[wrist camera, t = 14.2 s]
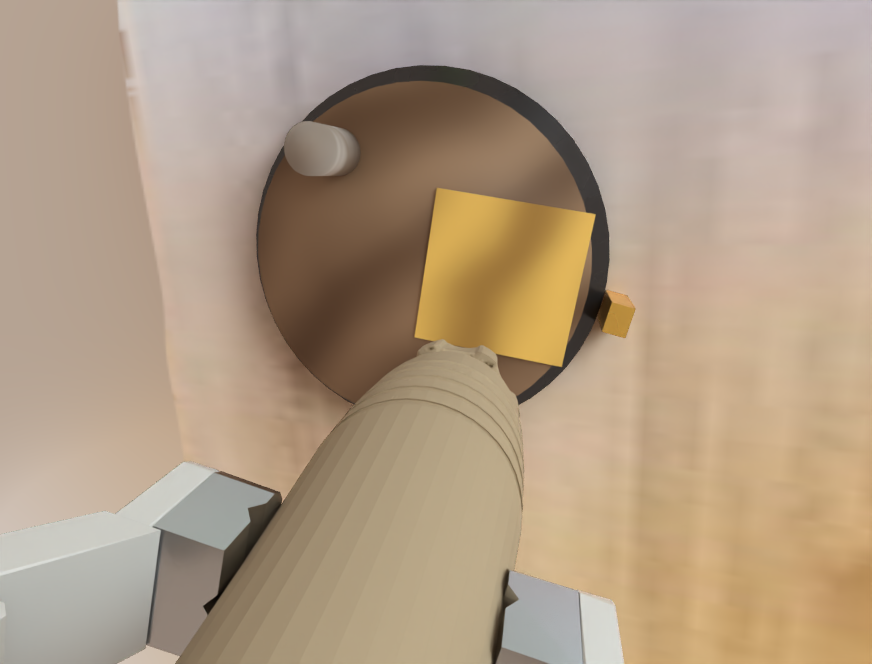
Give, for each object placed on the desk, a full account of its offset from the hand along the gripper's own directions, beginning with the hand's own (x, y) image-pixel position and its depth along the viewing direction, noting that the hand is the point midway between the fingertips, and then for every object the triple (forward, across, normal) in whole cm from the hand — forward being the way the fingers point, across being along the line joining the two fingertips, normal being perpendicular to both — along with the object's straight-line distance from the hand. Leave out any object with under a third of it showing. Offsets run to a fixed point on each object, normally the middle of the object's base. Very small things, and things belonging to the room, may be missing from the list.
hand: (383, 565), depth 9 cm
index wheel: (+25, +5, 0) cm, 26 cm away
